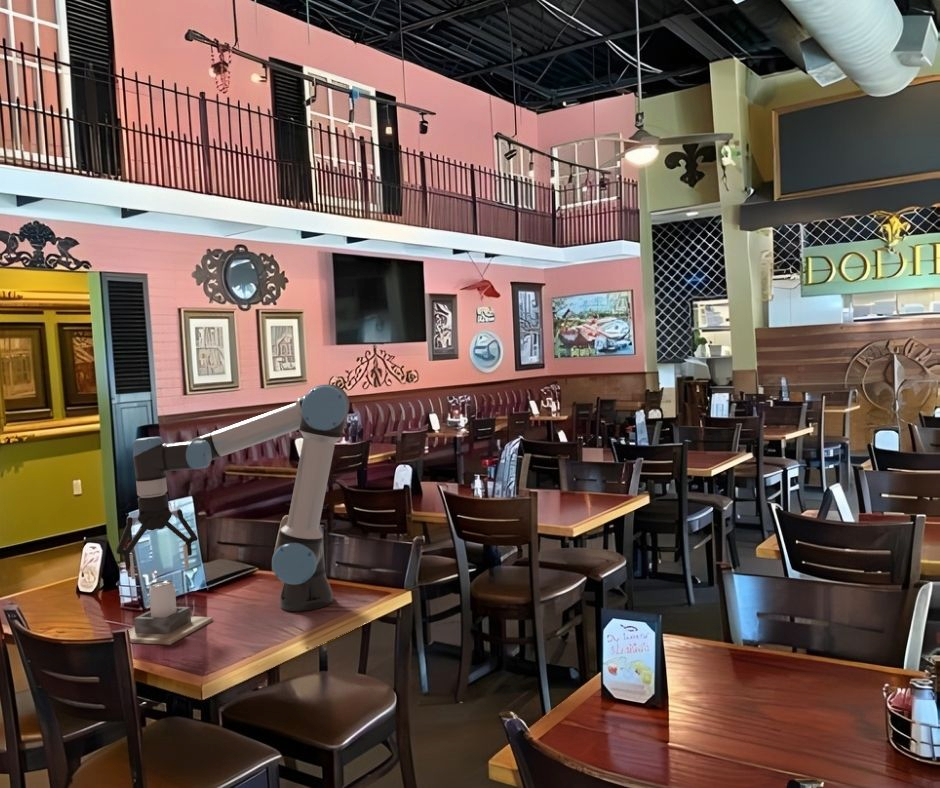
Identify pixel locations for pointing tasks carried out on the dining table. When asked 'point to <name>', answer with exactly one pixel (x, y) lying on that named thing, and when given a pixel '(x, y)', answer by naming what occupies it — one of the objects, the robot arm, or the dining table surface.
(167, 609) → the can
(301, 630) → the dining table surface
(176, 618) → the socket
